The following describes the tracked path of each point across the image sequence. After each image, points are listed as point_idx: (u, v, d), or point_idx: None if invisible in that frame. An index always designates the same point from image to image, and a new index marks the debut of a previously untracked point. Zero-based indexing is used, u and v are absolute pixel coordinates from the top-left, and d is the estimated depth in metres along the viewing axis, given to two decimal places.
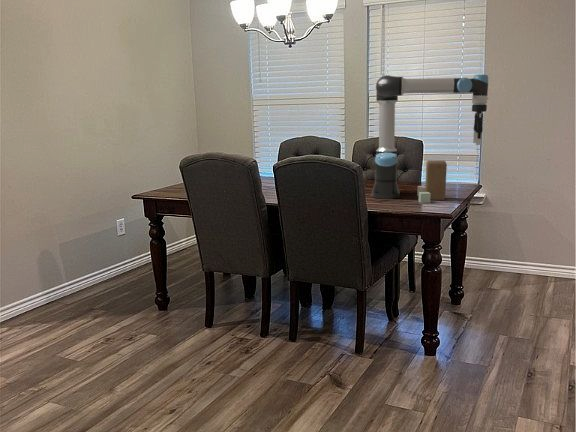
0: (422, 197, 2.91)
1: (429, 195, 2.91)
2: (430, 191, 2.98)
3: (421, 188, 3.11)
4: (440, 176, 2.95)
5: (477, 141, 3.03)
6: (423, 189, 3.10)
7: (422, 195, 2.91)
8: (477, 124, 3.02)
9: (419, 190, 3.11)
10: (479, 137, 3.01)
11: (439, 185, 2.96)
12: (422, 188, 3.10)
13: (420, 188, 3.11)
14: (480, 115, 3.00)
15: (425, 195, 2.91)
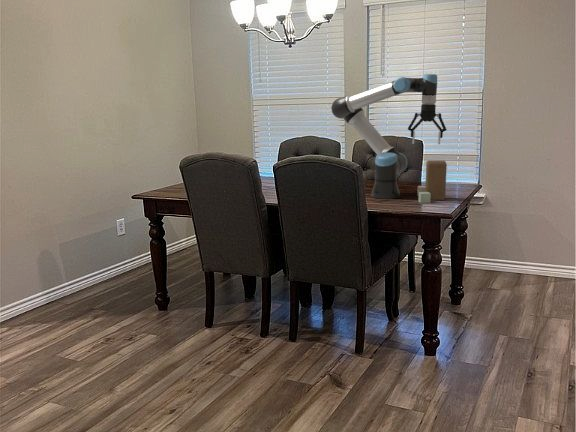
0: (422, 197, 2.91)
1: (429, 195, 2.91)
2: (430, 191, 2.98)
3: (421, 188, 3.11)
4: (440, 176, 2.95)
5: None
6: (423, 189, 3.10)
7: (422, 195, 2.91)
8: None
9: (419, 190, 3.11)
10: None
11: (439, 185, 2.96)
12: (422, 188, 3.10)
13: (420, 188, 3.11)
14: None
15: (425, 195, 2.91)
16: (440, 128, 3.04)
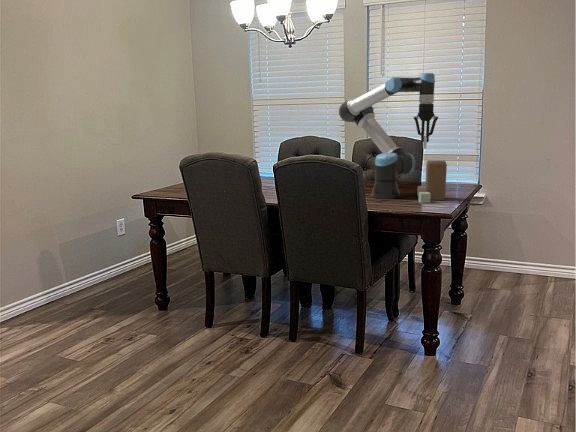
0: (422, 197, 2.91)
1: (429, 195, 2.91)
2: (430, 191, 2.98)
3: (421, 188, 3.11)
4: (440, 176, 2.95)
5: (423, 144, 3.04)
6: (423, 189, 3.10)
7: (422, 195, 2.91)
8: None
9: (419, 190, 3.11)
10: (421, 140, 3.03)
11: (439, 185, 2.96)
12: (422, 188, 3.10)
13: (420, 188, 3.11)
14: (414, 119, 3.01)
15: (425, 195, 2.91)
16: (428, 132, 3.01)
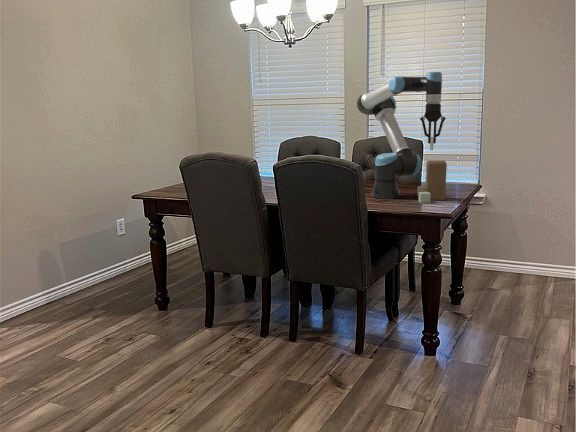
0: (422, 197, 2.91)
1: (429, 195, 2.91)
2: (430, 191, 2.98)
3: (421, 188, 3.11)
4: (440, 176, 2.95)
5: None
6: (423, 189, 3.10)
7: (422, 195, 2.91)
8: None
9: (419, 190, 3.11)
10: (428, 142, 2.92)
11: (439, 185, 2.96)
12: (422, 188, 3.10)
13: (420, 188, 3.11)
14: (420, 119, 2.91)
15: (425, 195, 2.91)
16: (435, 133, 2.89)
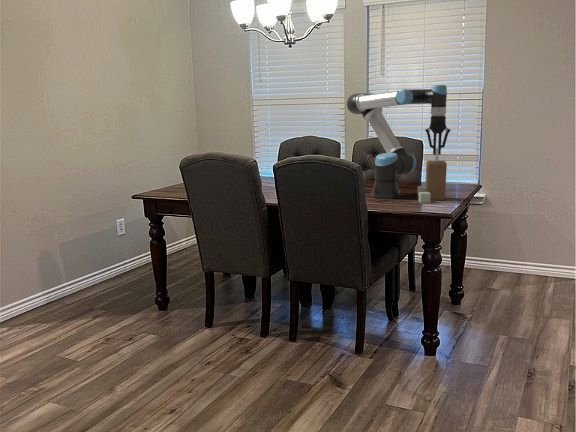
0: (422, 197, 2.91)
1: (429, 195, 2.91)
2: (430, 191, 2.98)
3: (421, 188, 3.11)
4: (440, 176, 2.95)
5: None
6: (423, 189, 3.10)
7: (422, 195, 2.91)
8: (433, 139, 2.98)
9: (419, 190, 3.11)
10: (433, 153, 2.98)
11: (439, 185, 2.96)
12: (422, 188, 3.10)
13: (420, 188, 3.11)
14: None
15: (425, 195, 2.91)
16: (440, 144, 2.96)
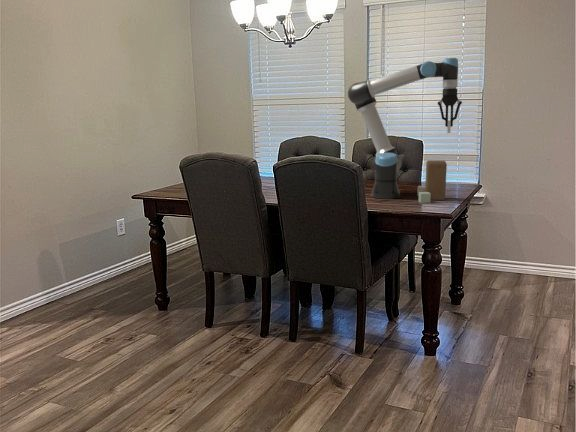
0: (422, 197, 2.91)
1: (429, 195, 2.91)
2: (430, 191, 2.98)
3: (421, 188, 3.11)
4: (440, 176, 2.95)
5: (447, 129, 3.07)
6: (423, 189, 3.10)
7: (422, 195, 2.91)
8: None
9: (419, 190, 3.11)
10: (445, 125, 3.06)
11: (439, 185, 2.96)
12: (422, 188, 3.10)
13: (420, 188, 3.11)
14: None
15: (425, 195, 2.91)
16: (452, 116, 3.04)
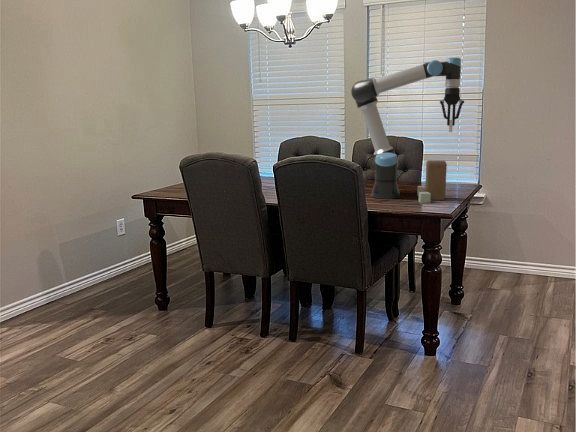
0: (422, 197, 2.91)
1: (429, 195, 2.91)
2: (430, 191, 2.98)
3: (421, 188, 3.11)
4: (440, 176, 2.95)
5: (449, 128, 3.10)
6: (423, 189, 3.10)
7: (422, 195, 2.91)
8: None
9: (419, 190, 3.11)
10: (447, 124, 3.09)
11: (439, 185, 2.96)
12: (422, 188, 3.10)
13: (420, 188, 3.11)
14: (440, 103, 3.08)
15: (425, 195, 2.91)
16: (454, 115, 3.07)
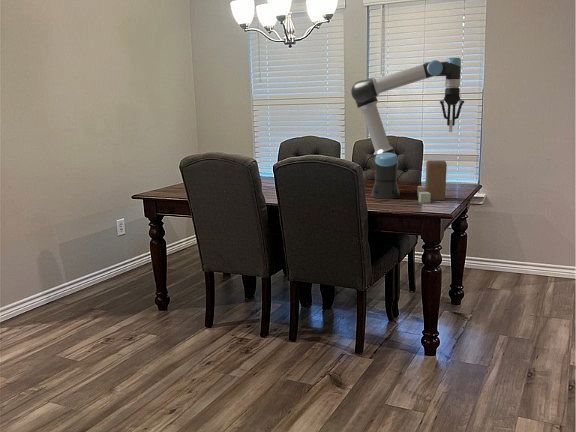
0: (422, 197, 2.91)
1: (429, 195, 2.91)
2: (430, 191, 2.98)
3: (421, 188, 3.11)
4: (440, 176, 2.95)
5: (449, 128, 3.10)
6: (423, 189, 3.10)
7: (422, 195, 2.91)
8: None
9: (419, 190, 3.11)
10: (447, 124, 3.09)
11: (439, 185, 2.96)
12: (422, 188, 3.10)
13: (420, 188, 3.11)
14: (440, 103, 3.08)
15: (425, 195, 2.91)
16: (454, 115, 3.07)
